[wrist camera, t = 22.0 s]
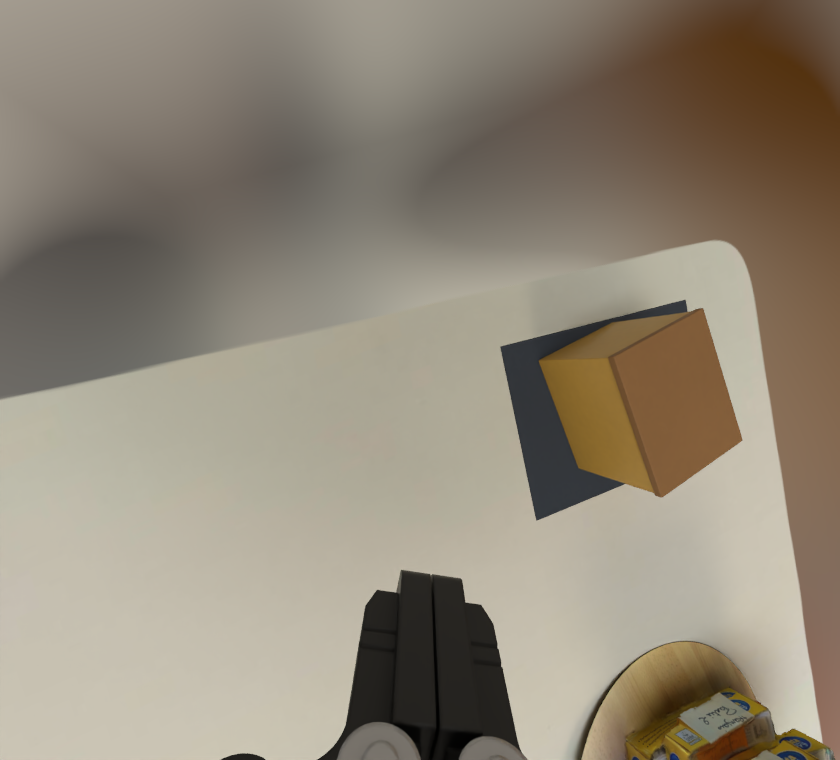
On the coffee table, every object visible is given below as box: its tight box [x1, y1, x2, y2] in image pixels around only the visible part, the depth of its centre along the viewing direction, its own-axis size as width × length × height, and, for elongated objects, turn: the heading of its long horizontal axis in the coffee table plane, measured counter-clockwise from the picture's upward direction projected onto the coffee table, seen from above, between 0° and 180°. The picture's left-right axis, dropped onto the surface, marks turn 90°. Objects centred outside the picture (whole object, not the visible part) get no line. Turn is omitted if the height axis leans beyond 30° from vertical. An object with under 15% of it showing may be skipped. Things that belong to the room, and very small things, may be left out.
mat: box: [501, 300, 687, 520], centre depth 40 cm, size 16×22×1 cm
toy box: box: [539, 308, 742, 497], centre depth 35 cm, size 9×11×9 cm
